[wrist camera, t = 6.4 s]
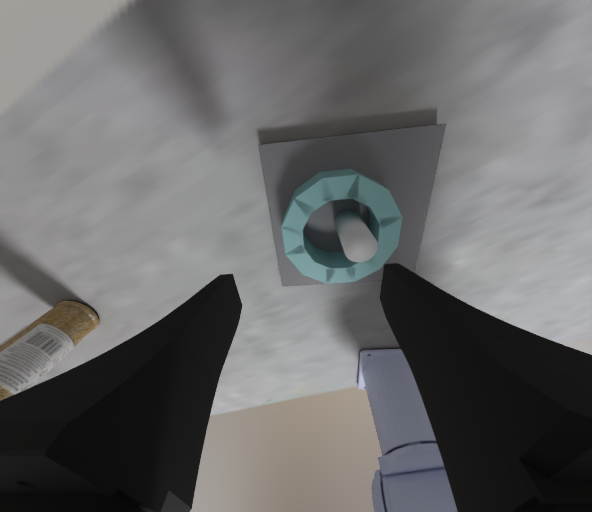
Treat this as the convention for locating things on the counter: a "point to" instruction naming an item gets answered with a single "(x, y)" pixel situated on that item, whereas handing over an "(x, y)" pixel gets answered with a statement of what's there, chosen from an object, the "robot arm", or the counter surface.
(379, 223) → the ring
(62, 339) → the sprinkles bottle
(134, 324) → the counter surface
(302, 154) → the pin board
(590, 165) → the counter surface
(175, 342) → the robot arm
